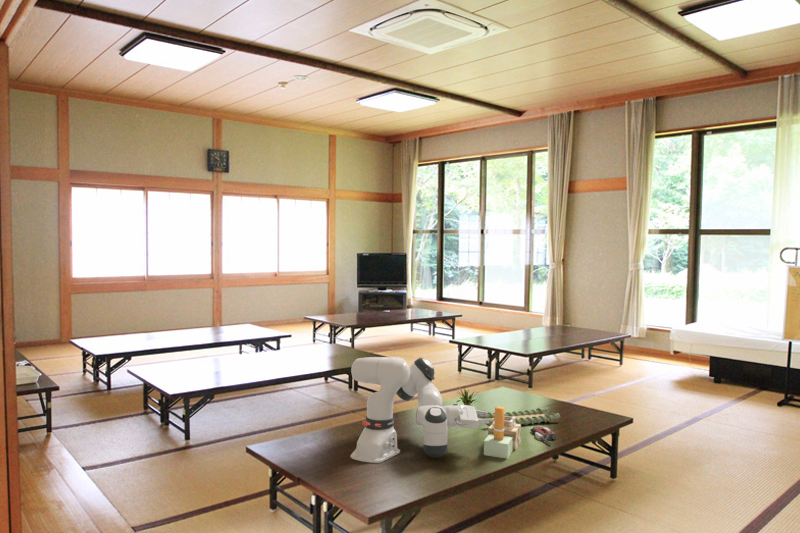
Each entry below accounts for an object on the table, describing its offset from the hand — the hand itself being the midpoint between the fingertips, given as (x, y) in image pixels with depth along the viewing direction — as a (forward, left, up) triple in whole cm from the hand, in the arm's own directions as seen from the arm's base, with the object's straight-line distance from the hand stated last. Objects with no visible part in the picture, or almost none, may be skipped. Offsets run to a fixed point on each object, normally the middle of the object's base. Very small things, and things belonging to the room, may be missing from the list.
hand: (487, 417), depth 236 cm
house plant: (+44, +23, -15) cm, 52 cm away
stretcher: (+50, -4, -16) cm, 53 cm away
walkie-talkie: (+31, -20, -16) cm, 40 cm away
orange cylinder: (+2, -4, -9) cm, 10 cm away
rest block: (+2, -4, -15) cm, 16 cm away
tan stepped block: (+14, -4, -15) cm, 21 cm away
